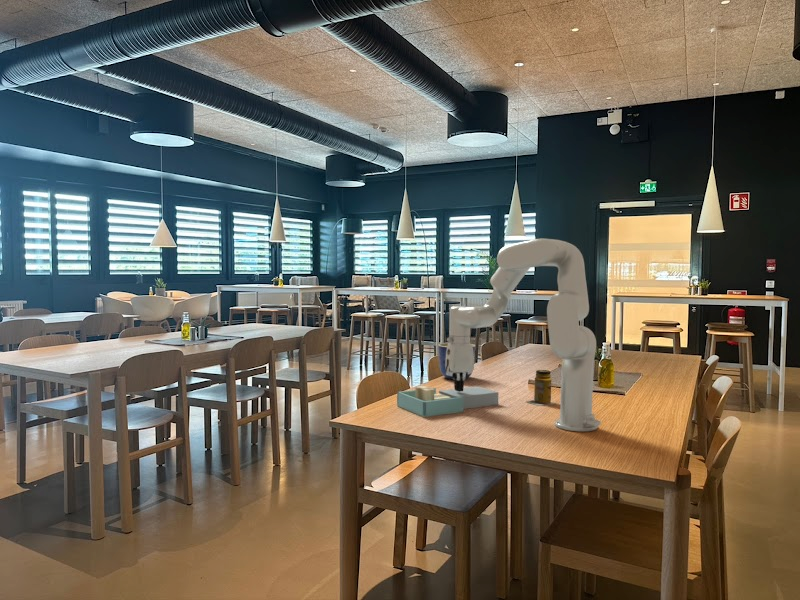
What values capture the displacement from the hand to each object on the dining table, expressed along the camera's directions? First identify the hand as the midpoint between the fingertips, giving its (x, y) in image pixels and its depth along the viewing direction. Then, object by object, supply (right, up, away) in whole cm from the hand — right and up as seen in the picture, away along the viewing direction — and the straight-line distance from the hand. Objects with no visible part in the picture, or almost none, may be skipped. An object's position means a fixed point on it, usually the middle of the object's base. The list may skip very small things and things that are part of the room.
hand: (458, 390), depth 204 cm
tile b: (-11, -1, -6) cm, 13 cm away
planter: (+4, -3, +54) cm, 54 cm away
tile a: (-8, -5, -4) cm, 10 cm away
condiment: (+31, -6, +5) cm, 32 cm away
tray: (-11, -5, -6) cm, 14 cm away
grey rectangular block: (+4, -5, +3) cm, 7 cm away
